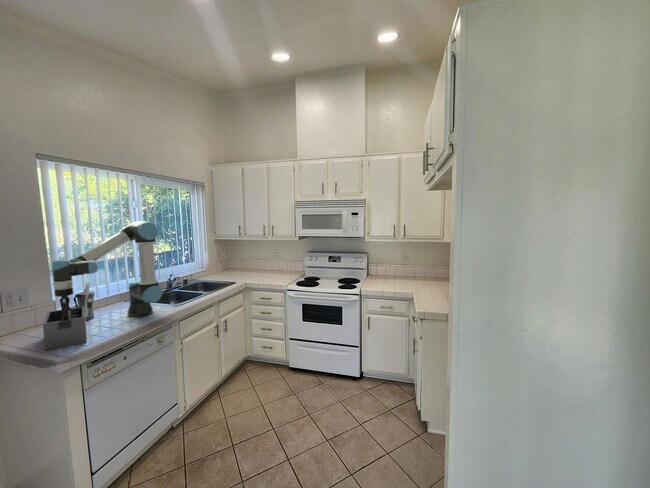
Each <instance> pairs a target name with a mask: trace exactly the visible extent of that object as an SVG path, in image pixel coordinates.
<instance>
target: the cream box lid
mask: <svg viewBox="0 0 650 488" xmlns="http://www.w3.org/2000/svg"><path fill="white" fill-rule="evenodd" d="M89 282H90V281H89V278H85V288H84V289H85V317H88V308H92V307H93V306H92V299H88V298H89V292H90V283H89Z"/></svg>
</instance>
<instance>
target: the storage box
mask: <svg viewBox="0 0 650 488" xmlns="http://www.w3.org/2000/svg"><path fill="white" fill-rule="evenodd" d="M70 308H71V307H70ZM68 311H70V317H71V318H72V315H77V316H78V318H74V319H68V320H62V318H60V317H62V309H57V310H52V311H51V310H50V311H47V313H46V315H45V317H44V321H43V323H42V328H43V331H42V332H43V340H44V341H43V342H44V343H43V344H44V351H45V352H47V351H52V350H57V349H63V348H66V347H67V348H68V347H73V346H77V345H81V344H86V343H88V342H87V341H88V340H87V339H88V338H87V336H88V335H87V320H86V317H85V306H84V307H79V306H78V308H76V307H74V308H73V307H72V308H71V310H68Z"/></svg>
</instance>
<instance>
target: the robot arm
mask: <svg viewBox="0 0 650 488" xmlns="http://www.w3.org/2000/svg"><path fill="white" fill-rule="evenodd" d="M158 235H159V229H158V226H157V225H155V224H154V223H153V222H150V221H134V222H132V223H129V224H128V225H126V226H125V227H123V228H121V229H119V230H118V233H117V234H115V235H113V236H111V237H110V238H108V239H106V240H104V241H102V242H101V243H100V244H98V245H96V246H94V247H93V248H91V249H89V250H87V251H86V252H85V253H82V254H81V255H79V256H77V257H76V258H72V259H59V260H57V259H56V260H54V261H52V263H51V266H52V268H51V269H52V276H53V283H52V285H53V287H54V288H53V289H54V296H55V297H61V298H60V299H59V304H60V309H61V310H62V317H60V318H62V320H68V319H71V317H70V311H68V310H71V306H70V303H71V302H70V301H71V300H70V298H71V297H69V296H72V295H73V294H74V288H73V285H74V284H73V277H76V276H83V275H84V276H85V275H91V274H96V273H97V272H98V270H99V269H98V268H99V267H98V266H99V265H98V262H97V261H99V260H100V259H102V258H104V257H105V256H107V255H108V254H111V253H112V252H113V251H115V250H117V249H118V248H120V247H122V246H123V245H125V244H127V243H131V242H132V241H135V242H134V243H135V244H136V245H138V248H137V249H138V259H139V260H138V261H139V262H138V263H139V273H140V275H139V276H140V280H138V281H134V282H133V281H131V282H129V284H128V293H129V306H128V310H127V316H128V317H130V318H131V317H133V318H137V317H143V316H149V315H151V314H152V313H153V312H154V310H153V306H152V303H153V304H154V303H156V302H158V301H159V300H160V299H161V298H162V295H163V290H162V288H161V287H160V286H159V280H157V279H156V265H155V252H154V245H155V243H156V238H157V237H158Z"/></svg>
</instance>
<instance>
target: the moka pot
mask: <svg viewBox="0 0 650 488" xmlns="http://www.w3.org/2000/svg"><path fill="white" fill-rule="evenodd" d="M85 289H86V288H84V290H83V291H81V292H78V293H76V294H75V295H74V297H73V302H74V304H75V308H78V307H84V306H85ZM88 299H92V308H88V317H86V321H88V320H92V319H94V318H95V314H94V309H93V304H94V299H95V291H94V290H93V291H92V290H91V291H90V290H89V298H88Z"/></svg>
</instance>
